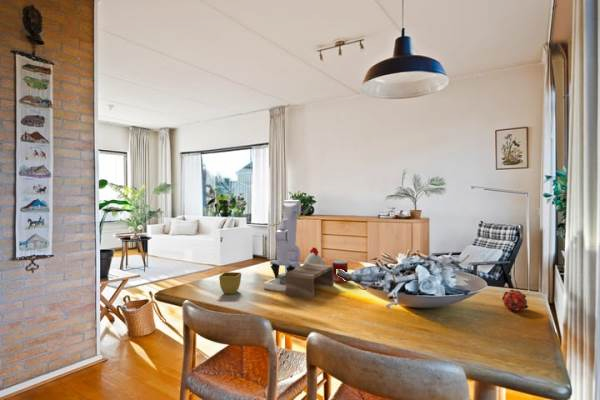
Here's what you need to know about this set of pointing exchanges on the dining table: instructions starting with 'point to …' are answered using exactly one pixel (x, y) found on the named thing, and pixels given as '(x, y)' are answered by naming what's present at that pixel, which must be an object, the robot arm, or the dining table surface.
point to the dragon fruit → (514, 300)
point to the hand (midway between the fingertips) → (283, 279)
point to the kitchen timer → (314, 258)
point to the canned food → (339, 265)
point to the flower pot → (230, 282)
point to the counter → (308, 279)
